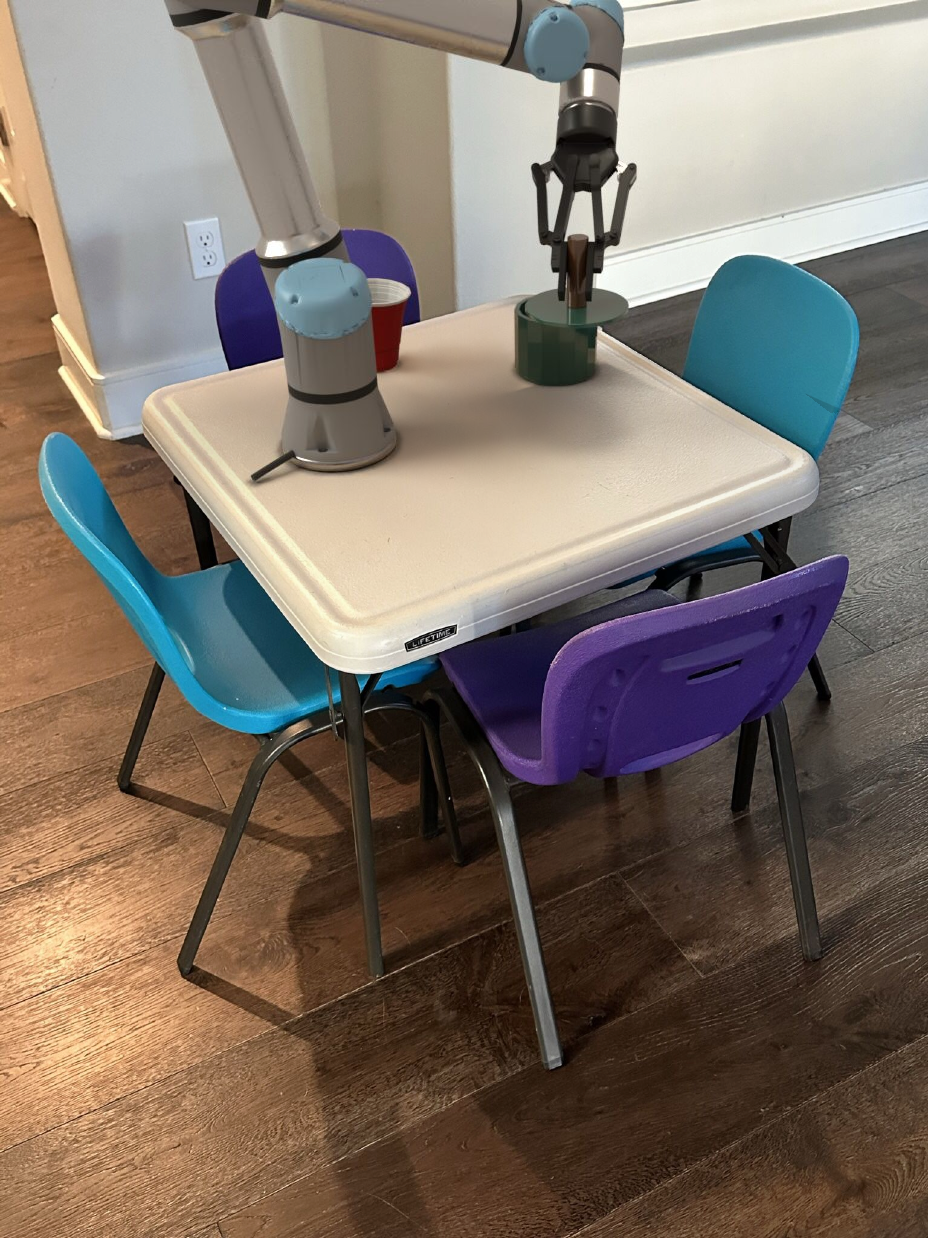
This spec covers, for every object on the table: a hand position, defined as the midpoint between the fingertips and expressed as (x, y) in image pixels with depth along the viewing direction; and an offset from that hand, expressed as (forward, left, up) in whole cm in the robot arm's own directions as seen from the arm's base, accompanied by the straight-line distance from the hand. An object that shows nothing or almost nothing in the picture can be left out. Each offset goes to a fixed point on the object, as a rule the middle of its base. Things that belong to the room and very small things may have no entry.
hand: (574, 296), depth 137 cm
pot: (+13, +21, -20) cm, 32 cm away
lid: (+3, +3, -3) cm, 5 cm away
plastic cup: (-7, +39, -20) cm, 44 cm away
